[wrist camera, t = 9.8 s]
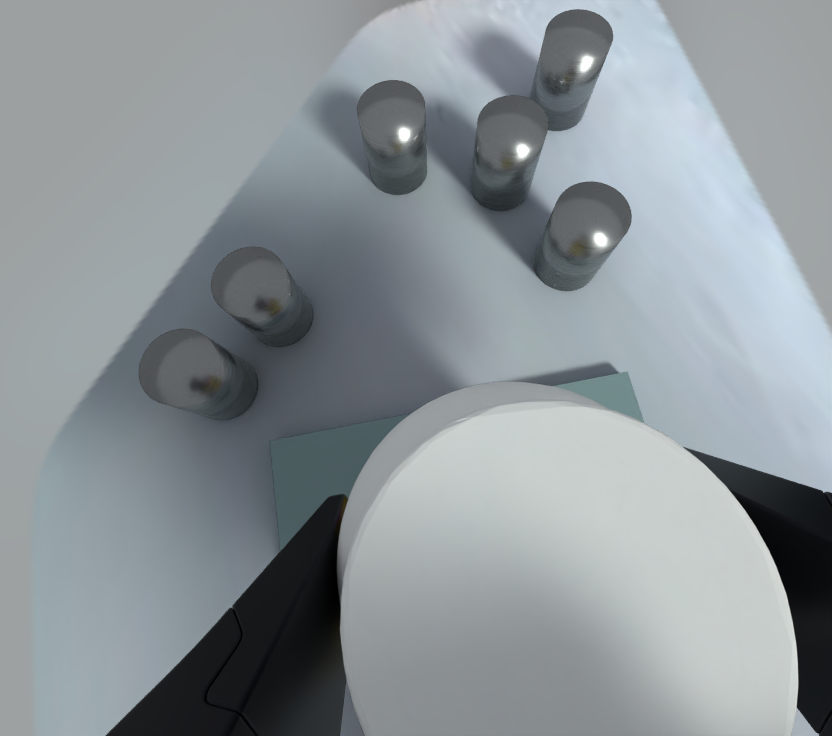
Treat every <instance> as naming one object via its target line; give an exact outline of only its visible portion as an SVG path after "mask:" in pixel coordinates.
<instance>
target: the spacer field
mask: <svg viewBox="0 0 832 736" xmlns="http://www.w3.org/2000/svg"><path fill="white" fill-rule="evenodd" d="M612 41H613V31H612V28H611V26H610V24H609V23H608V22H607V21H606V20H605V19H604V18H603V17H602V16H600V15H598V14H596V13H594V12H591V11H588V10H579V9H577V10H569V11H565V12H562V13H560V14H558V15H557V16H555V17H554V18H553V19H552V20H551V21H550V22H549V24H548V26H547V28H546V32H545V36H544V40H543V44H542V49H541V53H540V57H539V61H538V65H537V69H536V74H535V78H534V82H533V86H532V90H531V95H530V99H528V98H526V97H522V96H515V95H510V96H503V97H499V98H497V99H494V100H493V101H491V102H489V103H488V104H487V105H486V106H485V107H484V108H483V109H482V111H481V112H480V114H479V117H478V122H477V131H476V140H475V150H474V159H473V168H472V177H471V191H472V194H473V196H474V198H475V199H476V200H477V201H478V202H479V203H480V204H481V205H483V206H484V207H486V208H489V209H492V210H499V211H500V210H509V209H512V208H514V207H516V206H518V205H519V204H521V203H522V202H523V201H524V199H525V198H526V196H527V194H528V192H529V188H530V185H531V182H532V179H533V176H534V172H535V169H536V166H537V163H538V160H539V156H540V153H541V150H542V147H543V144H544V140H545V137H546V134H547V130H552V131H562V130H567V129H569V128H572V127H574V126H575V125H576V124H578V123H579V121H580V120H581V119H582V117H583V115H584V112H585V109H586V107H587V104H588V102H589V99H590V97H591V94H592V92H593V89H594V87H595V84H596V82H597V79H598V77H599V74H600V72H601V69H602V66H603V64H604V61H605V59H606V56H607V54H608V51H609V49H610V46H611V44H612ZM357 114H358V118H359V123H360V128H361V132H362V137H363V141H364V146H365V151H366V155H367V160H368V165H369V169H370V174H371V178H372V180H373V182H374V184H375V185H376V186H377V187H378V188H379V189H380V190H382V191H384V192H386V193H389V194H394V195H401V194H407V193H409V192H412V191H414V190H415V189H417V188H418V187H419V186H420V185H421V184H422V183H423V181H424V180H425V178H426V175H427V148H426V118H425V101H424V98H423V96H422V94H421V93H420V91H419V90H418V89H417V88H415V87H414V86H413V85H411V84H409V83H407V82H403V81H398V80H389V81H383V82H380V83H377V84H375V85H373V86H371V87H370V88H369V89H367V90H366V91H365V92H364V93H363V95H362V96H361V98H360V100H359V102H358V106H357ZM631 216H632V215H631V209H630V206H629V204H628V202H627V200H626V199H625V198H624V196H623V195H622V194H621V193H620V192H619V191H617V190H616V189H614V188H613V187H611V186H609V185H606V184H603V183H599V182H582V183H578V184H575V185H573V186H571V187H569V188H568V189H566V190H565V191H564V192H563V193H562V194H561V195H560V197H559V198H558V200H557V203H556V205H555V207H554V210H553V212H552V214H551V217H550V219H549V221H548V224H547V226H546V229H545V231H544V233H543V236H542V238H541V240H540V243H539V245H538V247H537V250H536V252H535V255H534V268H535V271H536V273H537V275H538V276H539V278H540V279H541V280H542V281H543V282H544V283H545V284H546V285H548V286H550V287H552V288H554V289H557V290H561V291H573V290H577V289H580V288H582V287H584V286H585V285H586V284H588V283H589V282H590V281H591V279H592V278H593V277H594V275H595V274H596V273H597V271H598V270H599V269H600V267H601V266H602V265H603V263H604V262H605V261H606V259H607V258H608V257H609V255H610V254H611V253H612V251H613V250H614V249H615V247H616V246H617V245H618V244H619V242H620V241H621V240H622V238H623V237H624V236H625V234H626V233H627V231H628V229H629V227H630V224H631ZM211 289H212V294H213V297H214V299H215V301H216V302H217V304H218V305H219V306H220V307H221V308H222V309H224V310H225V311H226V312H227V313H229V314H230V315H231V316H232V317H233V318H235V319H236V320H237V321H238V322H240V323H241V324H242V325H243V326H245V327H246V328H247V329H248V330H249V331H251V332H252V333H253V334H254V335H256V336H257V337H258V338H259V339H261V340H262V341H263V342H265V343H266V344H269V345H272V346H287V345H291V344H293V343H295V342H297V341H299V340H300V339H301V338H302V337H304V335H305V334H306V333H307V332H308V330H309V328H310V326H311V324H312V320H313V310H312V306H311V304H310V302H309V300H308V299H307V297H306V296H305V295H304V293H303V292H302V290H301V289H300V287H299V286H298V285H297V283H296V282H295V280H294V279H293V278H292V276H291V275H290V273H289V272H288V270H287V269H286V268H285V266H284V265H283V263H282V262H281V261H280V259H279V258H278V257H277V256H276V255H275V254H274V253H273V252H271V251H269V250H267V249H264V248H261V247H245V248H241V249H238V250H235V251H233V252H231V253H230V254H228V255H227V256H226V257H225V258H223V260H222V261H221V262H220V263H219V264H218V266H217V267H216V269H215V271H214V273H213V276H212V282H211ZM139 379H140V383H141V386H142V388H143V390H144V391H145V393H146V394H147V395H148V396H149V397H150V398H152V399H153V400H155V401H157V402H159V403H162V404H165V405H169V406H172V407H176V408H179V409H183V410H186V411H190V412H193V413H196V414H200V415H203V416H207V417H210V418H214V419H218V420H227V419H232V418H235V417H237V416H239V415H241V414H242V413H244V412H245V411H246V410H247V409H248V408H249V407H250V406H251V404H252V403H253V401H254V399H255V397H256V394H257V390H258V380H257V376H256V373H255V371H254V370H253V368H252V367H251V366H250V365H249V364H248V363H247V362H245V361H244V360H242V359H241V358H239V357H238V356H236V355H234V354H233V353H231V352H230V351H228V350H226V349H225V348H223V347H222V346H220V345H219V344H217V343H215V342H214V341H212V340H211V339H209V338H208V337H206V336H204V335H203V334H201V333H199V332H197V331H195V330H191V329H176V330H172V331H169V332H166V333H164V334H163V335H161V336H159V337H158V338H156V339H155V340H154V341H153V342H152V343H151V344H150V345H149V346H148V348H147V349H146V351H145V352H144V354H143V356H142V359H141V362H140V366H139Z"/></svg>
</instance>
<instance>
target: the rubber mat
mask: <svg viewBox="0 0 832 736" xmlns="http://www.w3.org/2000/svg"><path fill="white" fill-rule="evenodd" d="M554 387H557V388H561V389H565V390H568V391H571V392H574V393H576V394H579V395H582V396H584V397H586V398H589V399H591V400H593V401H595V402H597V403H599V404H601V405H602V406H604V407H606V408H608V409H610V410H614V411H617V412H619V413H622V414H625V415H627V416H630V417H632V418H635V419H637V420H639V421H641V422H643V423H644V421H643V418H642V415H641V412H640V409H639V406H638V403H637V400H636V396H635V393H634V390H633V387H632V384H631V381H630V378H629V375H628V372H623V373H617V374H612V375H607V376H602V377H597V378H592V379H586V380H581V381H576V382H571V383H566V384H561V385H555V386H554ZM411 414H412V413H411ZM409 415H410V414H405V415H400V416H395V417H390V418H385V419H380V420H374V421H369V422H364V423H359V424H354V425H348V426H343V427H338V428H333V429H328V430H323V431H317V432H312V433H307V434H302V435H297V436H292V437H286V438H281V439H276V440H271V441H269V442H270V452H271V462H272V472H273V482H274V492H275V503H276V513H277V523H278V533H279V543H280V551H281V550H282V549H283V548H284V546H285V545H286V544H287V543H288V542H289V541H290V540H291V539H292V537H293V536H294V535H295V534H296V533H297V532H298V531H299V529H300V528H301V527H302V526H303V525H304V524H305V523H306V521H307V520H308V519H309V518H310V517H311V516H312V515H313V513H314V512H315V511H316V510H317V509H318V508H319V507H320V506H321V504H322V503H323V502H324V501H325V500H326V499H327V498H328V497H329V496H333V495H338V494H345V495H346V496H347V498H348V499H349V496H350V493H351V491H352V489H353V486H354V484H355V482H356V480H357V478H358V476H359V474H360V472H361V470H362V469H363V467H364V465H365V464H366V462H367V461H368V459H369V457H370V456H371V454H372V452H373V451H374V450H375V449H376V447H377V446H378V445H379V444H380V442H381V441H382V440H383V439H384V438H385V437H386V436H387V434H388V433H389V432H390V431H391V430H392V429H393V428H394V427H396V426H397V425H398V424H399V423H400V422H401V421H402V420H404V419H405V418H406V417H407V416H409Z"/></svg>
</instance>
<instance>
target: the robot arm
mask: <svg viewBox="0 0 832 736" xmlns="http://www.w3.org/2000/svg"><path fill="white" fill-rule="evenodd" d="M683 448H685V447H683ZM685 449H686V450H687V451H689V452H690V453H691V454H692V455H694V456H695V457H696V458H697V459H698V460H700V461H701V462H702V463H703V464H704V465H705V466H706V467H707V468H708V469H709V470H710V471H711V472H712V473H713V474H714V475H715V476H716V477H717V478H718V479H719V480H720V481H721V482H722V483H723V484H724V485H725V486H726V487H727V488H728V489H729V491H730V492H731V493H732V494H733V496H734V497H735V498H736V499H737V501H738V502H739V503H740V504H741V506H742V507H743V508H744V510H745V511H746V513H747V514H748V516H749V517H750V519H751V520H752V522H753V523H754V525H755V526H756V528H757V530H758V532H759V533H760V535H761V537H762V539H763V541H764V542H765V544H766V546H767V548H768V550H769V552H770V554H771V556H772V558H773V561H774V563H775V565H776V567H777V570H778V573H779V575H780V578H781V581H782V584H783V587H784V589H785V592H786V595H787V599H788V604H789V608H790V613H791V617H792V622H793V627H794V633H795V639H796V647H797V659H798V696H797V708H798V710H799V711H800V712H801V714H802V715H803V716H804V718H805V719H806V720H807V721H808V723H809V724H810V725H811V727H812V728H813V729H814V731H815V732H816V733H818V734H819V736H832V493H830V492H825V493H823V491H821V490H818V489H815V488H812V487H809V486H806V485H802V484H799V483H796V482H793V481H790V480H787V479H783V478H780V477H777V476H774V475H771V474H768V473H764V472H761V471H758V470H755V469H752V468H748V467H745V466H742V465H739V464H736V463H733V462H729V461H726V460H723V459H720V458H717V457H714V456H710V455H707V454H704V453H701V452H698V451H694V450H691V449H688V448H685ZM347 502H348V498H347V496H346V495H345V494H338V495H333V496H329V497H328V498H327V499H326V500H325V501H324V502H323V503H322V504H321V506H320V507H319V508H318V509H317V510H316V511H315V512H314V513H313V515H312V516H311V517H310V518H309V519H308V520H307V521H306V523H305V524H304V525H303V526H302V527H301V528H300V529H299V531H298V532H297V533H296V534H295V535H294V536H293V537H292V539H291V540H290V541H289V542H288V543H287V544H286V545H285V546H284V548H283V549H282V550H281V551H280V552H279V553H278V554H277V556H276V557H275V558H274V559H273V560H272V561H271V562H270V564H269V565H268V566H267V567H266V568H265V569H264V570H263V572H262V573H261V574H260V575H259V576H258V577H257V578H256V580H255V581H254V582H253V583H252V584H251V585H250V586H249V587H248V589H247V590H246V591H245V592H244V593H243V594H242V595H241V597H240V598H239V599H238V600H237V601H236V602H235V603H234V605H233V609H232V608H229V609H228V611H227V612H226V613H225V614H224V615H223V616H222V617H221V618H220V620H219V621H218V622H217V623H216V624H215V625H214V626H213V627H212V628H211V630H210V631H209V632H208V633H207V634H206V635H205V636H204V637H203V638H202V639H201V640H200V642H199V643H198V644H197V645H196V646H195V647H194V648H193V649H192V650H191V651H190V652H189V653H188V654H187V655H186V656H185V657H184V658H183V659H182V660H181V661H180V662H179V663H178V664H177V665H176V666H175V667H174V668H173V669H172V670H171V671H170V672H169V673H168V674H167V675H166V676H165V677H164V678H163V679H162V680H161V681H160V682H159V683H158V684H157V685H156V686H155V687H154V688H153V689H152V690H151V691H150V692H149V693H148V694H147V695H146V696H145V697H144V698H143V699H142V700H141V701H140V702H139V703H138V704H137V705H136V706H135V707H134V708H133V709H132V710H131V711H130V712H129V713H128V714H127V715H126V716H125V717H124V718H123V719H122V720H121V721H120V722H119V723H118V724H117V725H116V726H115V727H114V728H113V729H112V730H111V731H110V732H109V733H108V734H107V735H106V736H340V730H341V721H342V712H343V703H344V694H345V685H346V674H345V668H344V662H343V653H342V645H341V635H340V622H341V606H340V601H339V594H338V583H337V569H336V568H337V548H338V541H339V534H340V528H341V523H342V519H343V515H344V512H345V508H346V505H347Z"/></svg>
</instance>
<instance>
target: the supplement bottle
mask: <svg viewBox="0 0 832 736" xmlns="http://www.w3.org/2000/svg"><path fill="white" fill-rule="evenodd" d="M336 569H337V583H338V594H339V601H340V606H341V622H340V635H341V645H342V653H343V662H344V668H345V674H346V679H347V684H348V687H349V691H350V695H351V699H352V702H353V706H354V710H355V712H356V715H357V717H358V720H359V723H360V725H361V728H362V730H363V732H364V735H365V736H791V734H792V730H793V725H794V720H795V714H796V708H797V696H798V659H797V647H796V639H795V633H794V627H793V622H792V617H791V613H790V608H789V604H788V599H787V595H786V592H785V589H784V587H783V584H782V581H781V578H780V575H779V573H778V570H777V567H776V565H775V563H774V561H773V558H772V556H771V554H770V552H769V550H768V548H767V546H766V544H765V542H764V541H763V539H762V537H761V535H760V533H759V532H758V530H757V528H756V526H755V525H754V523H753V522H752V520H751V519H750V517H749V516H748V514H747V513H746V511H745V510H744V508H743V507H742V506H741V504H740V503H739V502H738V501H737V499H736V498H735V497H734V496H733V494H732V493H731V492H730V491H729V489H728V488H727V487H726V486H725V485H724V484H723V483H722V482H721V481H720V480H719V479H718V478H717V477H716V476H715V475H714V474H713V473H712V472H711V471H710V470H709V469H708V468H707V467H706V466H705V465H704V464H703V463H702V462H701V461H700V460H698V459H697V458H696V457H695V456H694V455H692V454H691V453H690V452H689V451H687V450H686V449H685V448H683V447H682V446H680V445H679V444H678V443H676V442H675V441H674V440H672V439H671V438H669V437H668V436H667V435H665V434H663V433H661V432H659V431H658V430H656V429H654V428H652V427H650V426H648V425H646V424H645V423H643V422H641V421H639V420H637V419H635V418H632V417H630V416H627V415H625V414H622V413H619V412H617V411H614V410H610V409H608V408H606V407H604V406H602V405H601V404H599V403H597V402H595V401H593V400H591V399H589V398H586V397H584V396H582V395H579V394H576V393H574V392H571V391H568V390H565V389H561V388H557V387H554V386H548V385H541V384H534V383H526V382H493V383H486V384H479V385H474V386H470V387H466V388H463V389H460V390H456V391H453V392H451V393H448V394H445V395H443V396H441V397H439V398H437V399H434V400H432V401H430V402H428V403H427V404H425V405H424V406H422V407H420V408H419V409H417V410H416V411H414V412H413V413H412V414H410V415H409V416H407V417H406V418H405V419H404V420H402V421H401V422H400V423H399V424H398V425H397V426H396V427H394V428H393V429H392V430H391V431H390V432H389V433H388V434H387V436H386V437H385V438H384V439H383V440H382V441H381V442H380V444H379V445H378V446H377V447H376V449H375V450H374V451H373V452H372V454H371V456H370V457H369V459H368V461H367V462H366V464H365V465H364V467H363V469H362V470H361V472H360V474H359V476H358V478H357V480H356V482H355V484H354V486H353V489H352V491H351V493H350V496H349V499H348V502H347V505H346V508H345V512H344V515H343V519H342V523H341V528H340V534H339V541H338V548H337V568H336Z"/></svg>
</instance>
